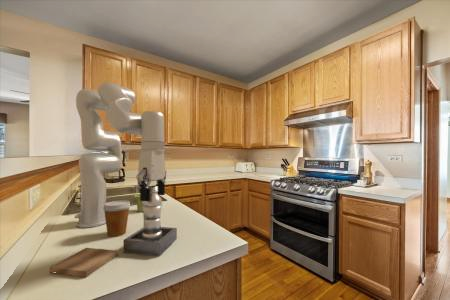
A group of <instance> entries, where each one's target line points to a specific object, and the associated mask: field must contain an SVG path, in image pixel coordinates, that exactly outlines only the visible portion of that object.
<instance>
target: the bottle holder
mask: <svg viewBox="0 0 450 300" xmlns="http://www.w3.org/2000/svg"><path fill="white" fill-rule="evenodd" d="M177 228H178V227H169V226H168V227H166V226H161V231H162V238H161V239H160V240H159V241H154V240H142V234H143V227H142V228H140V229H139V230H137V231H136V232H134V233H132V234H131V235H129V236H127V237H126V238H124V239H123V254H133V255H141V256H142V255H144V256H145V255H146V256H155V257H156V256H157V257H161V256H162V255H163V254H164V253H165V252H166V251H167V249H168V248H170V247H171V246H172V245H173V243H174V242H175V241H176V240H177V239H178V236H177V235H178V231H177Z"/></svg>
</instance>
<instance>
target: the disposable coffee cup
mask: <svg viewBox="0 0 450 300" xmlns="http://www.w3.org/2000/svg"><path fill="white" fill-rule="evenodd" d="M130 208H131V204H130V201H129V200H125V199H124V200H112V201H108V202H106V203H105V204H104V207H103V209H104V211H105V219H106V223H105V225H106V232H107V237H110V238H115V237H120V236H123V235H125V234H126V233H127V227H128V226H127V225H128V220H129V219H128V218H129V212H130Z"/></svg>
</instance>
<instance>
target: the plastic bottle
mask: <svg viewBox="0 0 450 300" xmlns="http://www.w3.org/2000/svg"><path fill="white" fill-rule="evenodd" d="M149 188H150V201H142V208H143V212H142V213H143V227H142V228H143V234H142V240H154V241H159V240H160V239H161V238H162V231H161V227H162V225H161V223H162V222H161V213H162V206H163V199H162V197H161V195H158V193H157V192H158V186H156V185H150V186H149Z"/></svg>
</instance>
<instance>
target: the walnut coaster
mask: <svg viewBox="0 0 450 300" xmlns="http://www.w3.org/2000/svg"><path fill="white" fill-rule="evenodd" d="M117 256H118V250H114V249H104V248H94V247H93V248H92V247H85V248H83V249H81V250H79V251H77V252H76V253H74V254H72V255H70V256H68V257H66V258H65V259H63V260H61V261H59V262H57V263H55V264H53V265H52V266H50V267H49V273H50V272H56V273H60V274H59V275H62V274H67V275H66V276H70V275H72V276H73V277H79V278H80V277H81V278H87V277H88V278H89V276H91V275H92V274H93V273H95V272H96V271H97V270H99V269H100V268H101V267H103V266H105V265H106V264H107V263H109V262H110V261H112V260H113V259H114V258H116V257H117ZM72 276H71V277H72Z"/></svg>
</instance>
